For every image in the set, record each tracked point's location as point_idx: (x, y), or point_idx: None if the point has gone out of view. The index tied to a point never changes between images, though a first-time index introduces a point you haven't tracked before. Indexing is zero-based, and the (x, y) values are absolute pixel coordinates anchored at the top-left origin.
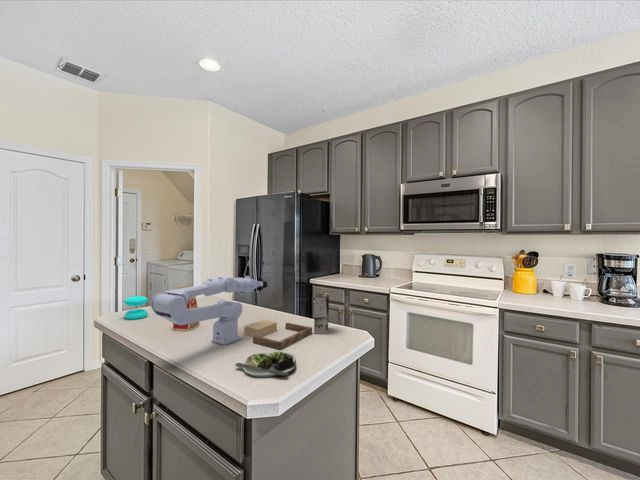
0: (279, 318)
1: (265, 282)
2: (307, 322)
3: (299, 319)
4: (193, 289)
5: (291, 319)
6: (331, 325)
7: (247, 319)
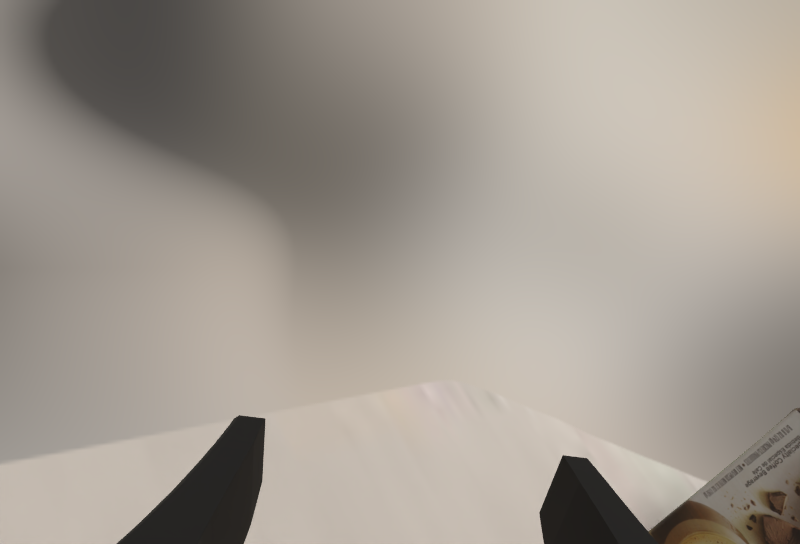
0: (331, 415)
1: (621, 515)
2: (529, 456)
3: (456, 410)
4: None
5: (414, 420)
6: (659, 476)
7: (65, 502)
